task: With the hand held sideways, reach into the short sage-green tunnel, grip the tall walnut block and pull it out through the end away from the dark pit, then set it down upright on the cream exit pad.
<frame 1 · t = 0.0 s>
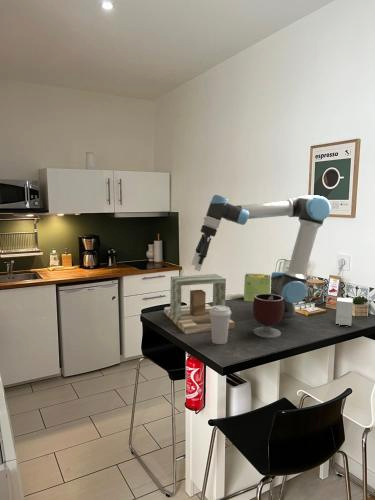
hand: (195, 267, 189), 28 cm above the table, tool tilted 20°, fingers open, 13 cm apart
coffee cup: (219, 341, 168), on the table
protein box: (256, 300, 238), on the table
mate gourd: (267, 333, 179), on the table
walnut block: (197, 314, 197), point 3 cm above the table, touching tunnel
supplement box: (343, 324, 194), on the table
tunnel: (197, 320, 197), on the table
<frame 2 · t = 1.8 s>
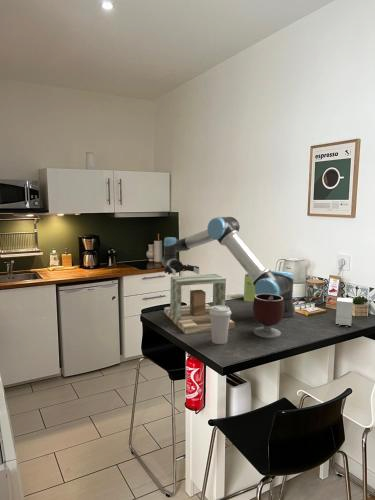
hand: (186, 272, 209), 22 cm above the table, tool horizontal, fingers open, 13 cm apart
nothing on the table moved.
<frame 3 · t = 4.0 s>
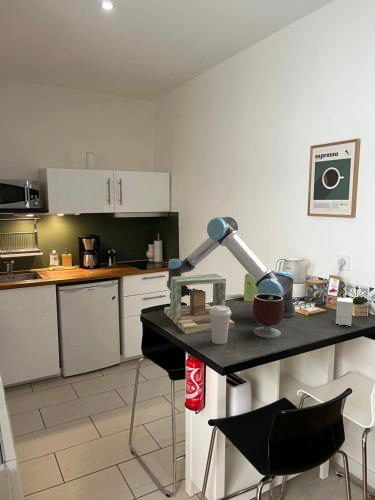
hand: (192, 298, 201), 10 cm above the table, tool horizontal, fingers open, 13 cm apart
nothing on the table moved.
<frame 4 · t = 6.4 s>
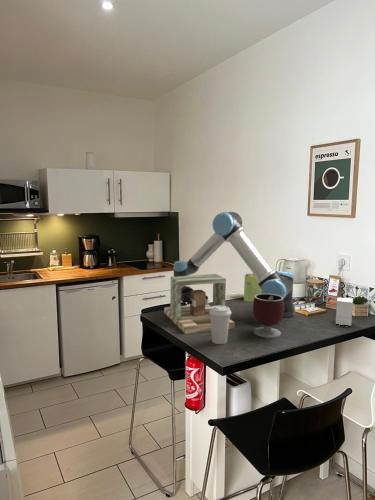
hand: (201, 303, 191), 10 cm above the table, tool horizontal, fingers closed on walnut block, 6 cm apart
walnut block: (197, 314, 197), point 3 cm above the table, touching gripper, tunnel
everything else where it was.
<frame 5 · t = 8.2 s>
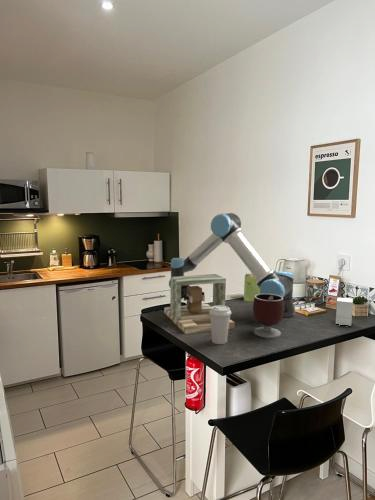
hand: (197, 299, 195), 11 cm above the table, tool horizontal, fingers closed on walnut block, 6 cm apart
walnut block: (194, 310, 200), point 4 cm above the table, touching gripper
everything else where it was.
when the fingers open (11 cm above the table, at t = 10.4 s): walnut block stays where it is, resting on tunnel.
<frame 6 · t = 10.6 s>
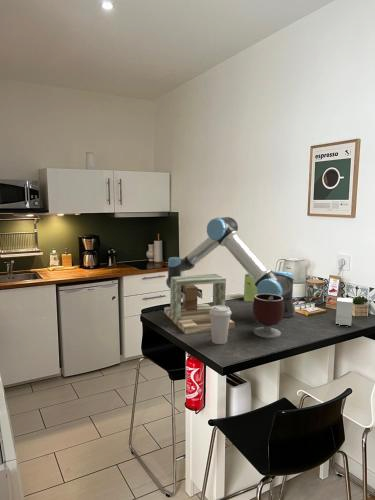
hand: (193, 296, 201), 11 cm above the table, tool horizontal, fingers open, 9 cm apart
walnut block: (189, 308, 207), point 3 cm above the table, touching tunnel
everything else where it was.
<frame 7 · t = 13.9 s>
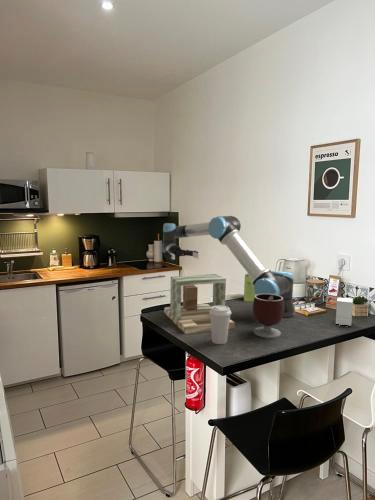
hand: (186, 256, 210), 30 cm above the table, tool horizontal, fingers open, 13 cm apart
nothing on the table moved.
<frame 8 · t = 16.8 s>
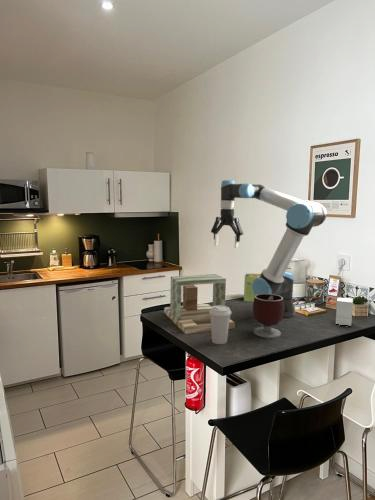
hand: (226, 246, 218), 35 cm above the table, tool pointing down, fingers open, 13 cm apart
nothing on the table moved.
at the end: walnut block inside the target area on the tunnel (1.3 cm from its centre), point 3.0 cm above the tunnel's base; walnut block tilted 0°; the gripper is holding nothing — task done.
